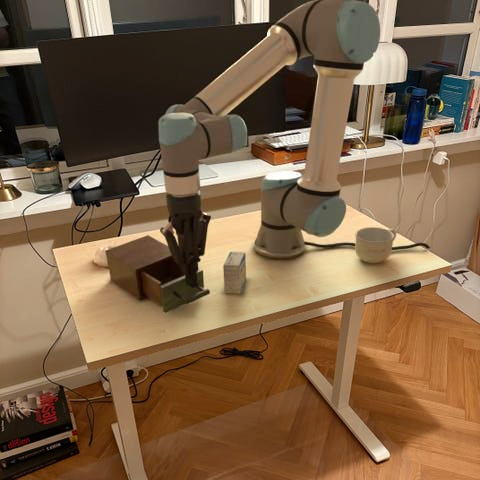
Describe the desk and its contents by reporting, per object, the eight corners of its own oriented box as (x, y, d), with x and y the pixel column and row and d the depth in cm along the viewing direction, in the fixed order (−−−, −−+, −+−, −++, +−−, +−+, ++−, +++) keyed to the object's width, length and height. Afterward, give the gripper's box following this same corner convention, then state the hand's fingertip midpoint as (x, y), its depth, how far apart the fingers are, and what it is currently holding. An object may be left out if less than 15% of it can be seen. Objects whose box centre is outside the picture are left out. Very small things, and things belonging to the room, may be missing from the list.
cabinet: (182, 282, 135) (179, 252, 130) (140, 301, 128) (135, 269, 122) (151, 263, 144) (148, 235, 139) (110, 280, 137) (105, 250, 131)
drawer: (219, 303, 124) (218, 278, 120) (179, 323, 117) (177, 297, 113) (173, 276, 136) (171, 252, 132) (135, 292, 129) (131, 268, 125)
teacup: (365, 269, 140) (369, 244, 135) (345, 253, 148) (348, 229, 143) (406, 260, 144) (411, 236, 139) (384, 245, 152) (388, 221, 147)
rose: (102, 237, 149) (130, 241, 147) (104, 250, 152) (133, 254, 149) (84, 252, 141) (115, 256, 139) (87, 265, 144) (117, 269, 141)
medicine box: (240, 294, 129) (240, 266, 124) (224, 293, 130) (223, 264, 125) (246, 280, 136) (245, 252, 131) (230, 278, 137) (229, 250, 132)
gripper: (195, 179, 111) (202, 270, 125) (147, 194, 104) (160, 289, 118) (217, 187, 106) (222, 280, 120) (168, 204, 99) (179, 301, 113)
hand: (191, 284), depth 119 cm, fingers closed
